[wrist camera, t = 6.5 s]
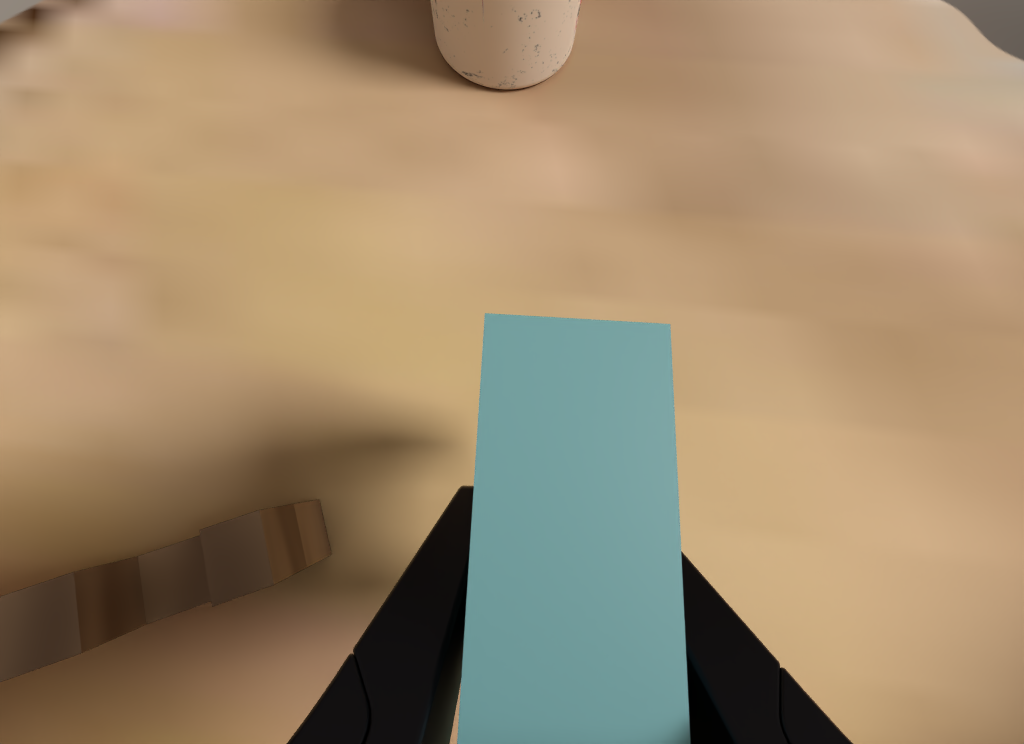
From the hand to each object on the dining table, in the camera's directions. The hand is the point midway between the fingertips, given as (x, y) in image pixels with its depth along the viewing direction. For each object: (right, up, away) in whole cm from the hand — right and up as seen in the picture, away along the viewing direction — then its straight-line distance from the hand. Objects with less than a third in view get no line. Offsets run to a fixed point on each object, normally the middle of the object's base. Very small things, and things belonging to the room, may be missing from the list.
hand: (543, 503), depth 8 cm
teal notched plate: (0, -3, +6) cm, 7 cm away
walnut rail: (-19, -7, +9) cm, 22 cm away
